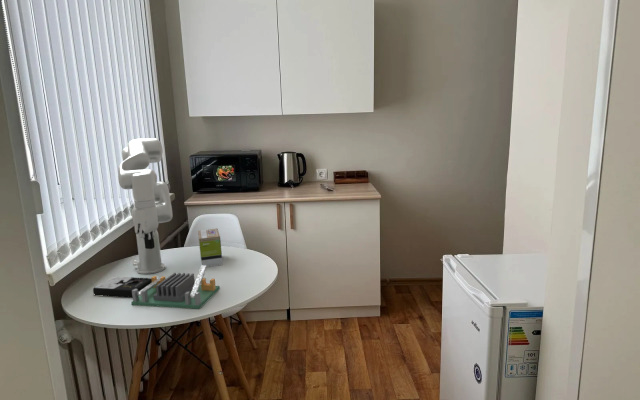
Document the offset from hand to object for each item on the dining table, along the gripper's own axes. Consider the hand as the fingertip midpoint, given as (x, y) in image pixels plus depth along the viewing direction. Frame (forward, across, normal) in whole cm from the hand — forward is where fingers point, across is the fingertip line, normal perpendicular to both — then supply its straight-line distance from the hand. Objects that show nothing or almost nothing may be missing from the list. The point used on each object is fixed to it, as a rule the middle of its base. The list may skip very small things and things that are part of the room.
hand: (150, 248), depth 175 cm
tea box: (+20, -38, +8) cm, 44 cm away
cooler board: (+19, +3, +12) cm, 22 cm away
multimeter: (+20, 0, -14) cm, 25 cm away
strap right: (+11, +5, +22) cm, 26 cm away
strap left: (+16, +4, +1) cm, 16 cm away
